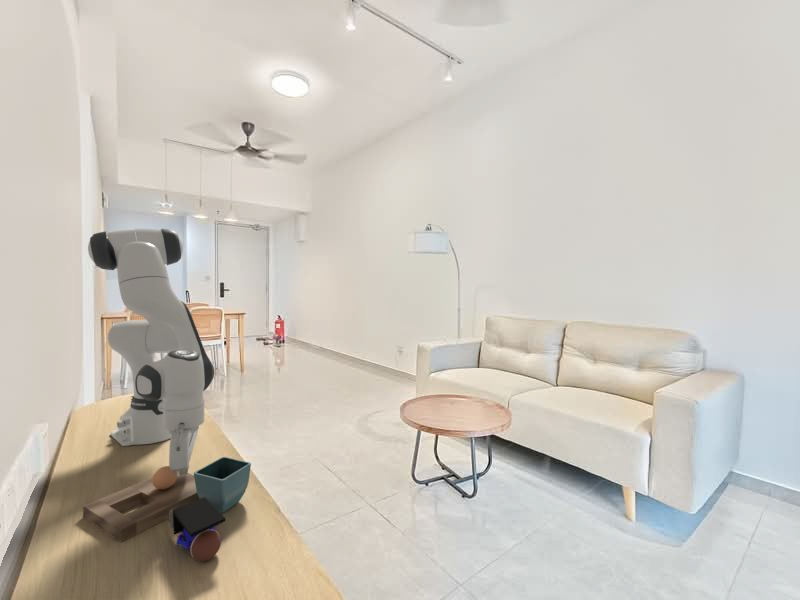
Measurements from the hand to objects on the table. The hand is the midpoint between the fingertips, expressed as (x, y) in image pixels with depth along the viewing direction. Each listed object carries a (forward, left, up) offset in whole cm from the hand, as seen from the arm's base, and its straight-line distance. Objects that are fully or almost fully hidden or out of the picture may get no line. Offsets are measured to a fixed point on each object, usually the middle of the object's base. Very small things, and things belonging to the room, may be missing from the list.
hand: (184, 472), depth 92 cm
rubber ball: (-1, -4, 0) cm, 4 cm away
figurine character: (+21, -10, -5) cm, 24 cm away
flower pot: (+14, +1, -5) cm, 15 cm away
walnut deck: (0, -7, -4) cm, 9 cm away
